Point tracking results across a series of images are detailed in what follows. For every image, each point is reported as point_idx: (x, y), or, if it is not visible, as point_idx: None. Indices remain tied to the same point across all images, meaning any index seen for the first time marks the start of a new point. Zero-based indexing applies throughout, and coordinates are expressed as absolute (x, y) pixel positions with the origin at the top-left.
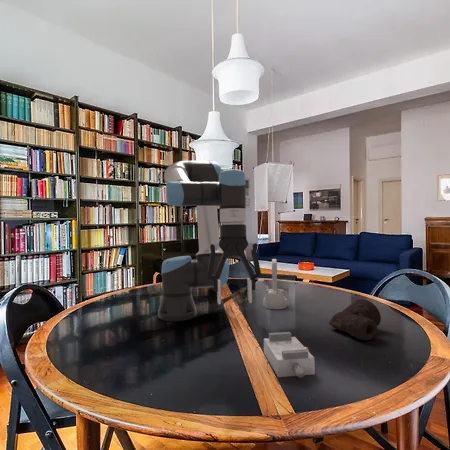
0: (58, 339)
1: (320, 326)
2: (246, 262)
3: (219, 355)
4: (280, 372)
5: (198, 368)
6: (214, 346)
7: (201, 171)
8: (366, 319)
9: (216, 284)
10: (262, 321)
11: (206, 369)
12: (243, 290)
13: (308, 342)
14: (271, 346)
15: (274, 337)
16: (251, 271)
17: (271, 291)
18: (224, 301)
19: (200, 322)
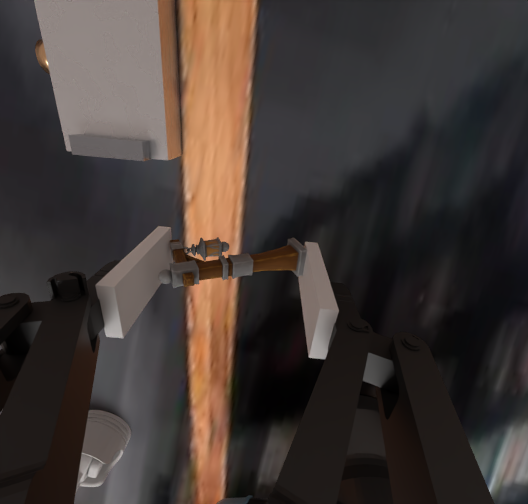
0: None
1: (2, 287)
2: (25, 416)
3: (304, 169)
4: None
5: (381, 96)
6: (303, 229)
7: None
8: None
9: (338, 308)
10: (149, 350)
11: (361, 84)
12: (178, 267)
13: (48, 194)
14: (154, 82)
15: (131, 139)
16: (49, 330)
17: (88, 471)
18: (287, 249)
19: (303, 377)
